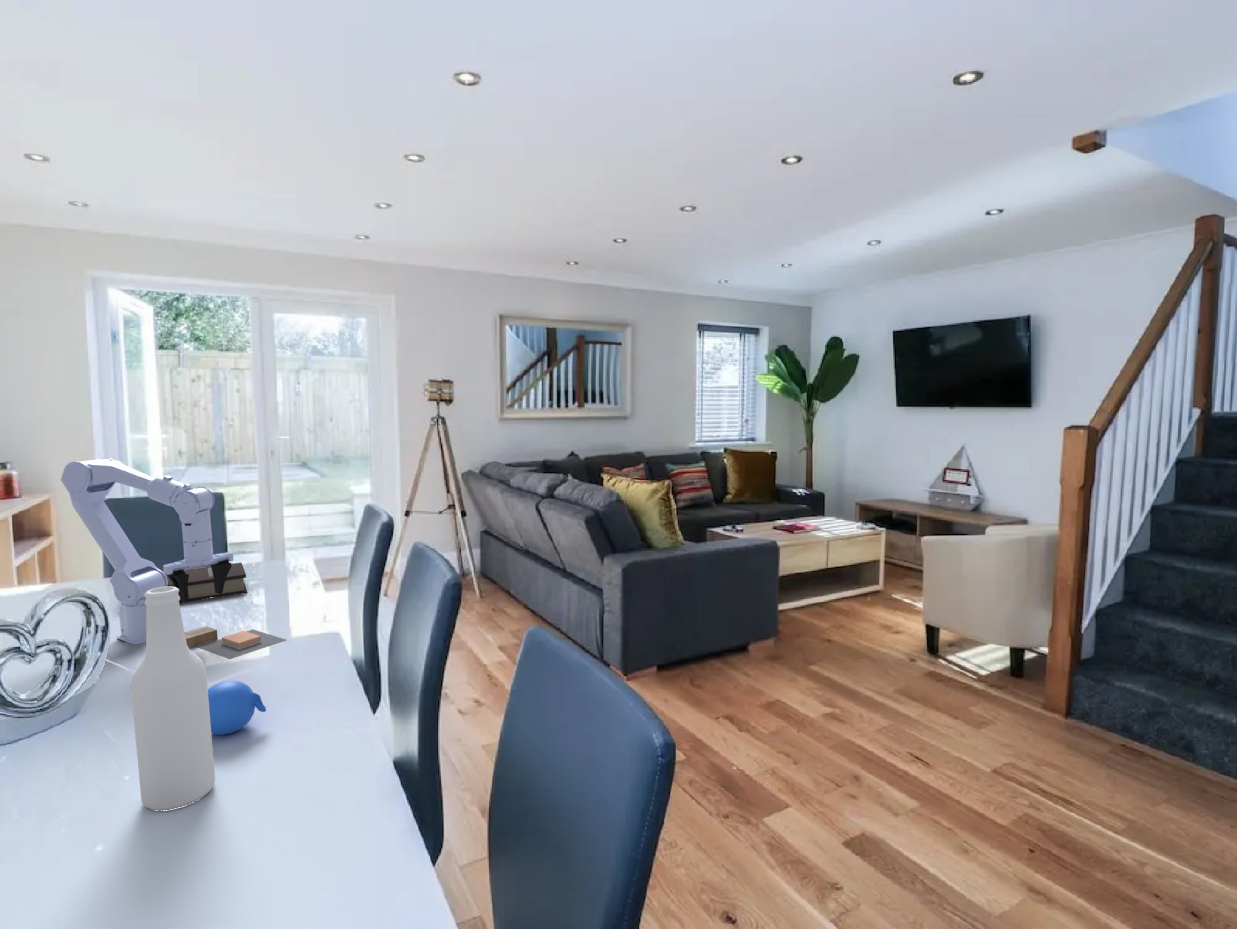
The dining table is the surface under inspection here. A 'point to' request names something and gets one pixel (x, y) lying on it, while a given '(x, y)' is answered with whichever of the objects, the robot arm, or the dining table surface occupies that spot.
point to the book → (204, 582)
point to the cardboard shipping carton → (200, 636)
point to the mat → (232, 652)
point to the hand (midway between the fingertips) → (202, 597)
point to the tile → (241, 640)
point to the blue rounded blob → (232, 706)
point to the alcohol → (171, 711)
